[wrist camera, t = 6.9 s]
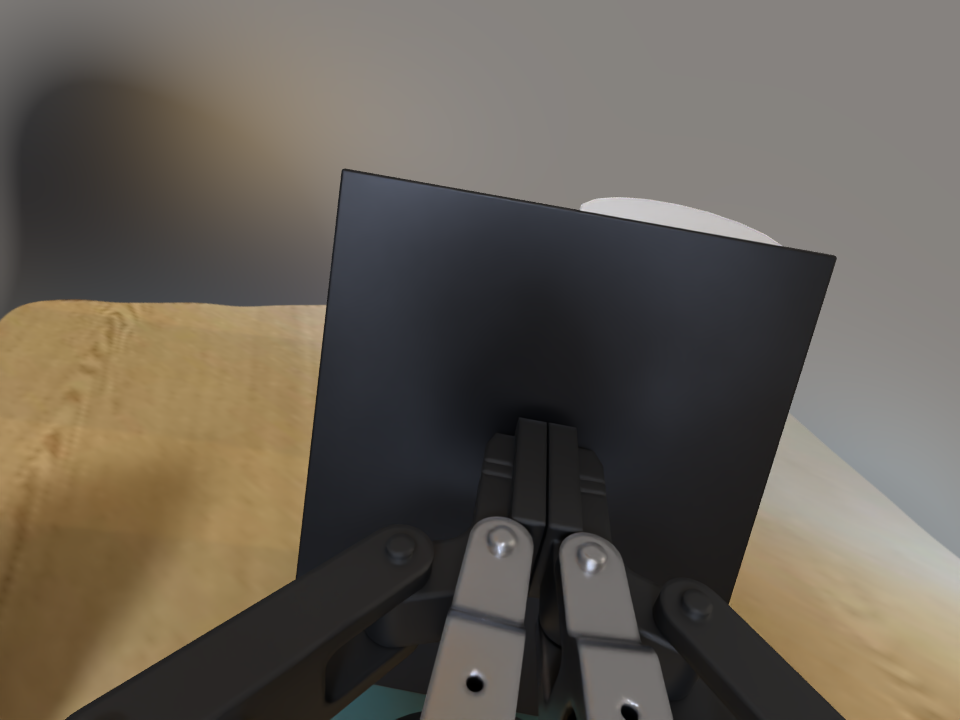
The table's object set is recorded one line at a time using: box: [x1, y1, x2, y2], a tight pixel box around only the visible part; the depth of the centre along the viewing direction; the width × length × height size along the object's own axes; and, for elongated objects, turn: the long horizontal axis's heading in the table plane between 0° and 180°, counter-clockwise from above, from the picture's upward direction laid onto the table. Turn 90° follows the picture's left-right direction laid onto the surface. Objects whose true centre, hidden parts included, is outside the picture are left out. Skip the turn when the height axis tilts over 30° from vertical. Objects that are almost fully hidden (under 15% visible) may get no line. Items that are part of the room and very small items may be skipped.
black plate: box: [296, 169, 837, 717], centre depth 16 cm, size 14×12×1 cm
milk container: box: [579, 197, 782, 246], centre depth 46 cm, size 17×17×18 cm
